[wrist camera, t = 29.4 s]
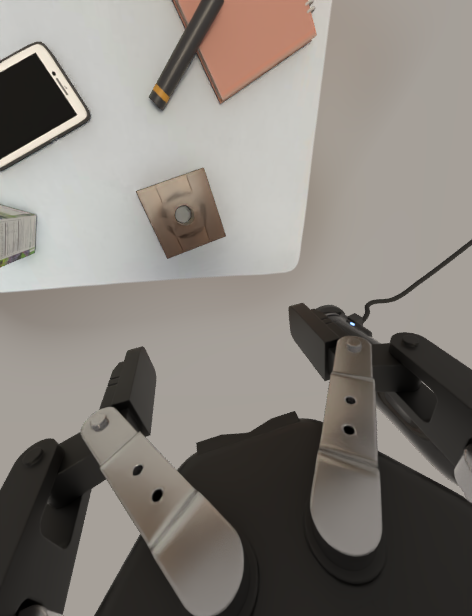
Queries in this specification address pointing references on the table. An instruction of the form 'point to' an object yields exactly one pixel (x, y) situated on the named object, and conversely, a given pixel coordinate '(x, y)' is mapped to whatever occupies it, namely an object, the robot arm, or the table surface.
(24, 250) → the syrup box
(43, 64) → the cell phone
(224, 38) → the notebook
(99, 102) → the table surface
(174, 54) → the stylus
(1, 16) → the table surface
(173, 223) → the pen stand
